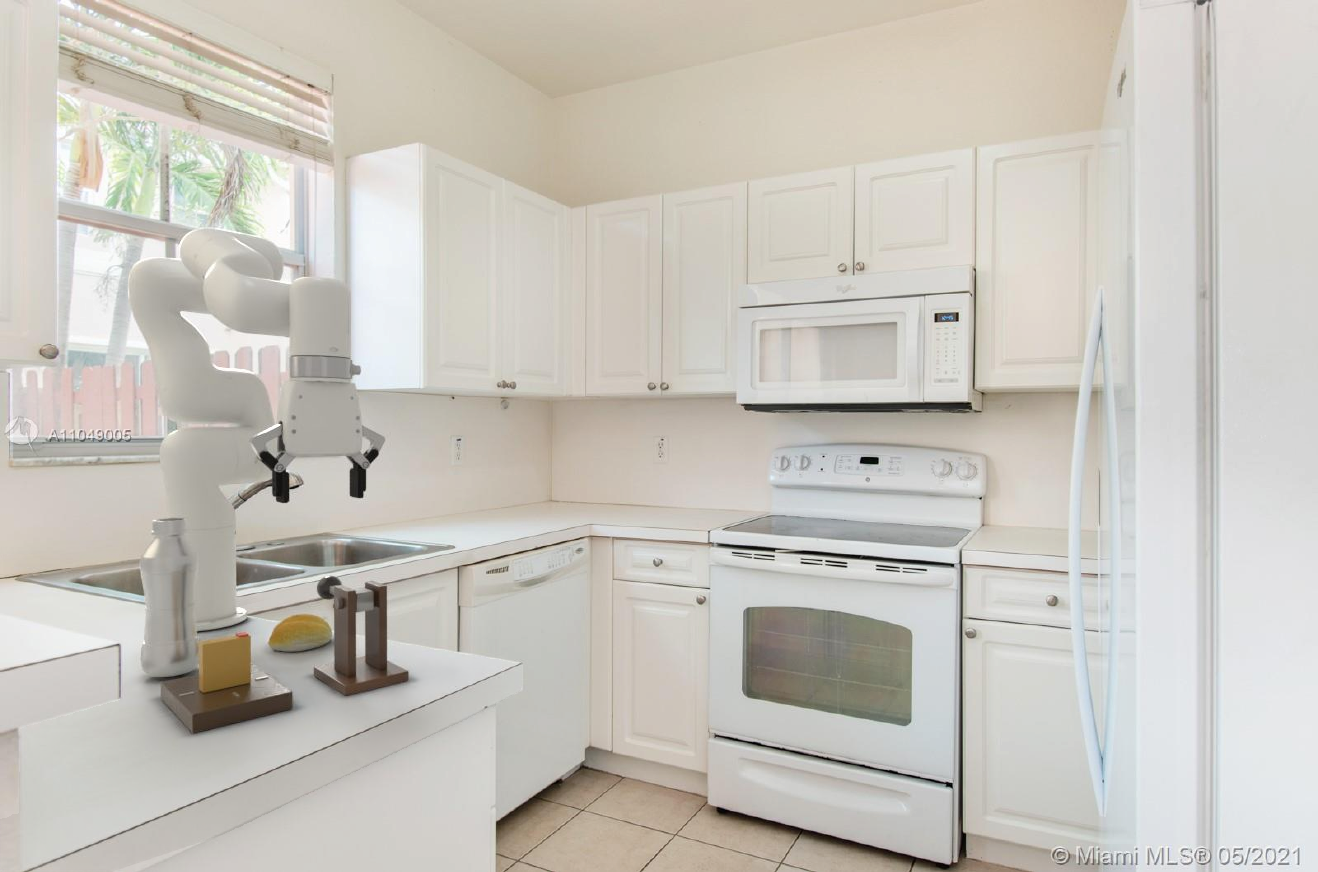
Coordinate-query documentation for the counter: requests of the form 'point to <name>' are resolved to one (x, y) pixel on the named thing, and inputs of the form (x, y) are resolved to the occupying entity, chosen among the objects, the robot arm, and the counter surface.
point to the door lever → (362, 594)
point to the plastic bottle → (169, 601)
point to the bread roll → (300, 633)
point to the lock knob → (224, 662)
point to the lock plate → (225, 701)
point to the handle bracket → (346, 668)
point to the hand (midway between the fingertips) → (320, 499)
